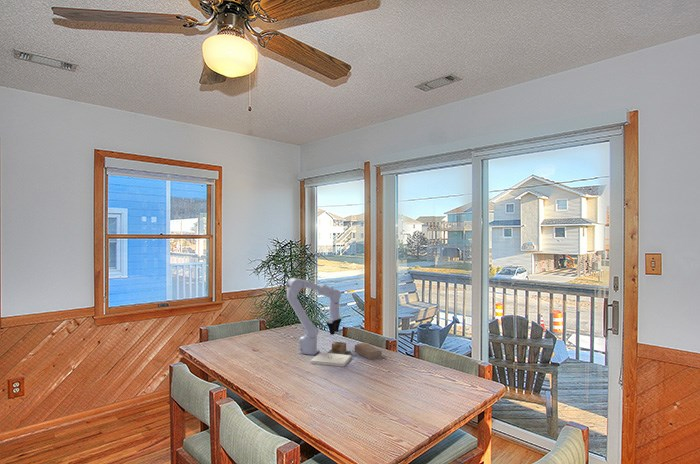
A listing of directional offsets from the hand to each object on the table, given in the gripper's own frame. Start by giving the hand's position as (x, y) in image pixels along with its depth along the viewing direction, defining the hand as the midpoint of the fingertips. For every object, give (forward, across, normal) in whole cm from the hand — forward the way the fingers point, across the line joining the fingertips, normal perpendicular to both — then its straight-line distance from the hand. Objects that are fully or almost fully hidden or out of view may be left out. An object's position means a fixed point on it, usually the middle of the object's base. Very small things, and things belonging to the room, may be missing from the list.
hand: (334, 332), depth 219 cm
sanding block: (+9, -7, -5) cm, 12 cm away
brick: (+10, -4, -21) cm, 24 cm away
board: (+9, -20, -5) cm, 23 cm away
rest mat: (+9, -7, -5) cm, 13 cm away
